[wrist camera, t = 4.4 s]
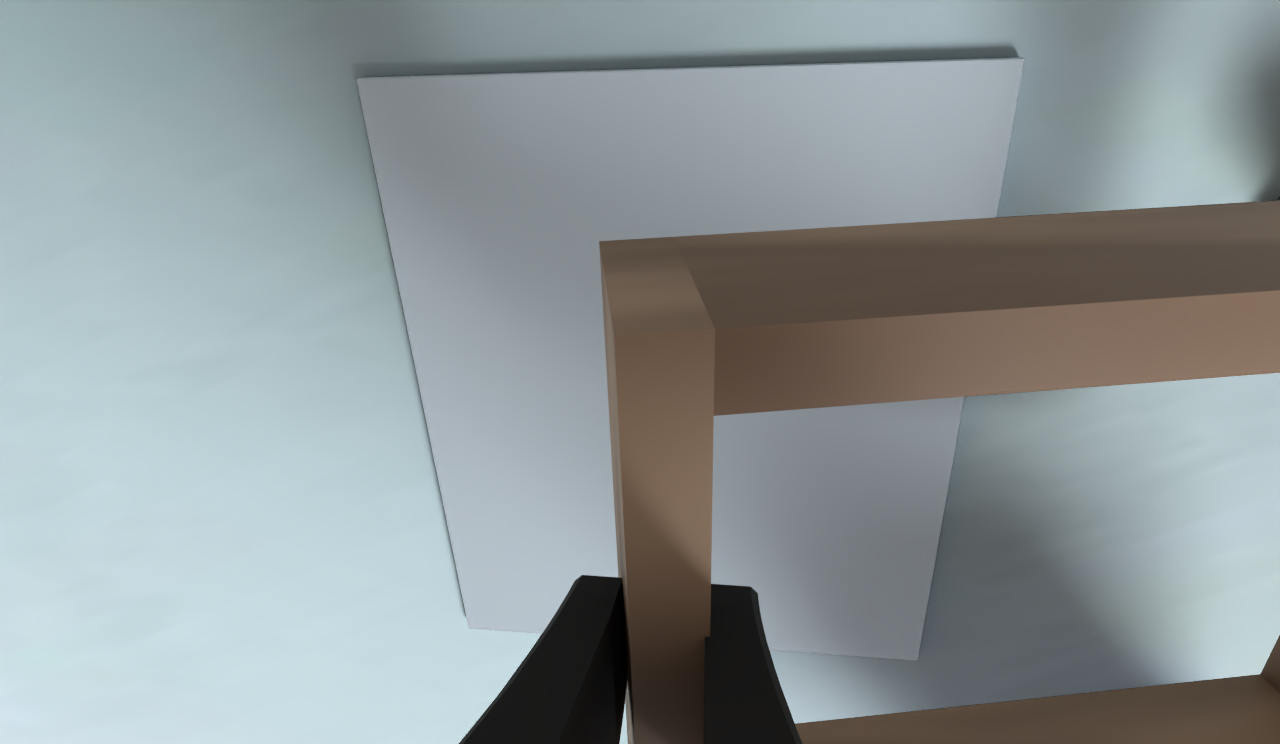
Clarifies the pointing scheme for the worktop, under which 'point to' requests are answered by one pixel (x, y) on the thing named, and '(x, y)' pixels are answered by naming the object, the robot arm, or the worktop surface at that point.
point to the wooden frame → (907, 371)
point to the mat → (574, 325)
